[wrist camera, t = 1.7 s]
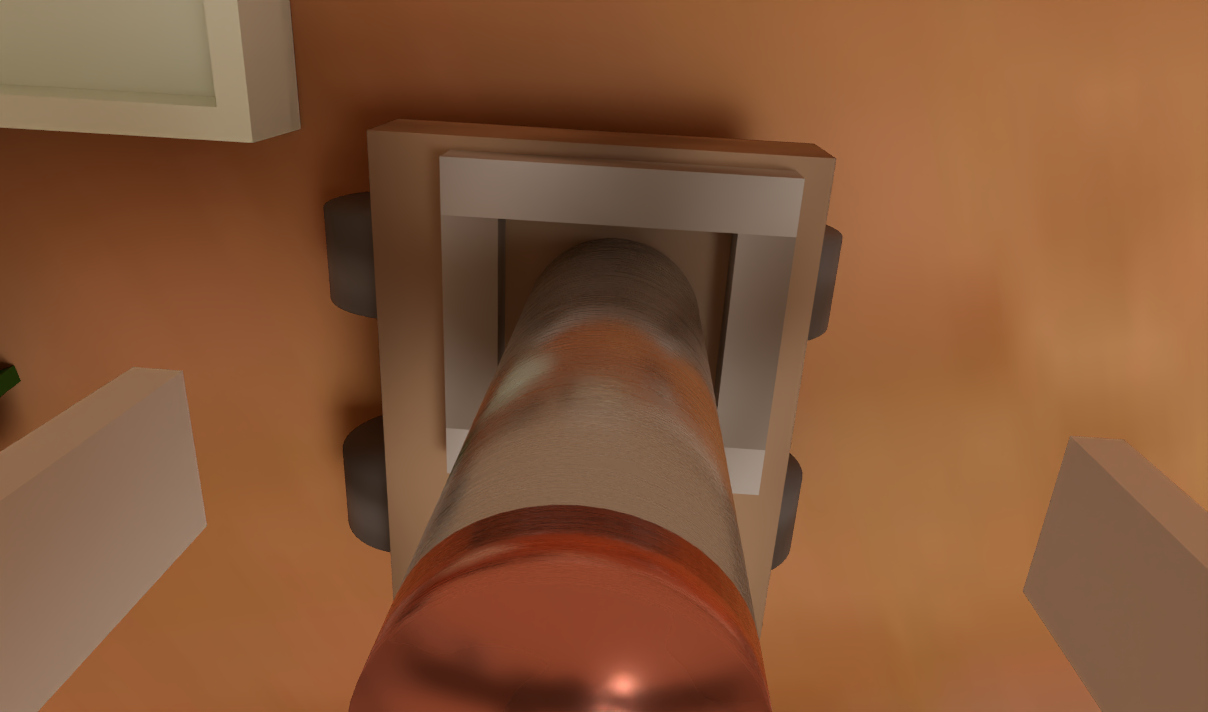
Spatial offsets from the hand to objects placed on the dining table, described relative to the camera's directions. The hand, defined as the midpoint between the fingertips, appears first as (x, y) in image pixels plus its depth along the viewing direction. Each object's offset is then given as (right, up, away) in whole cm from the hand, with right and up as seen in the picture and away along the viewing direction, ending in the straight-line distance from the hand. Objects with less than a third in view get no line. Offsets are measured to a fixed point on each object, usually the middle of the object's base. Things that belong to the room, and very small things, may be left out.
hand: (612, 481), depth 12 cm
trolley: (0, +2, +13) cm, 13 cm away
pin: (0, +3, +6) cm, 7 cm away
